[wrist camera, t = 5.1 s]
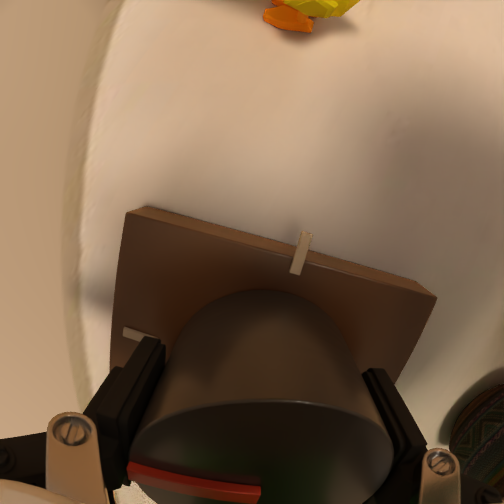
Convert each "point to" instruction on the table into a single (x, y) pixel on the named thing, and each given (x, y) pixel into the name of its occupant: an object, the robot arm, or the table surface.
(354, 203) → the table surface
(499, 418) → the yerba mate gourd
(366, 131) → the table surface
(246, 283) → the brown dial base plate
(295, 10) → the toy figure
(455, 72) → the table surface
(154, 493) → the dial knob
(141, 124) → the table surface
